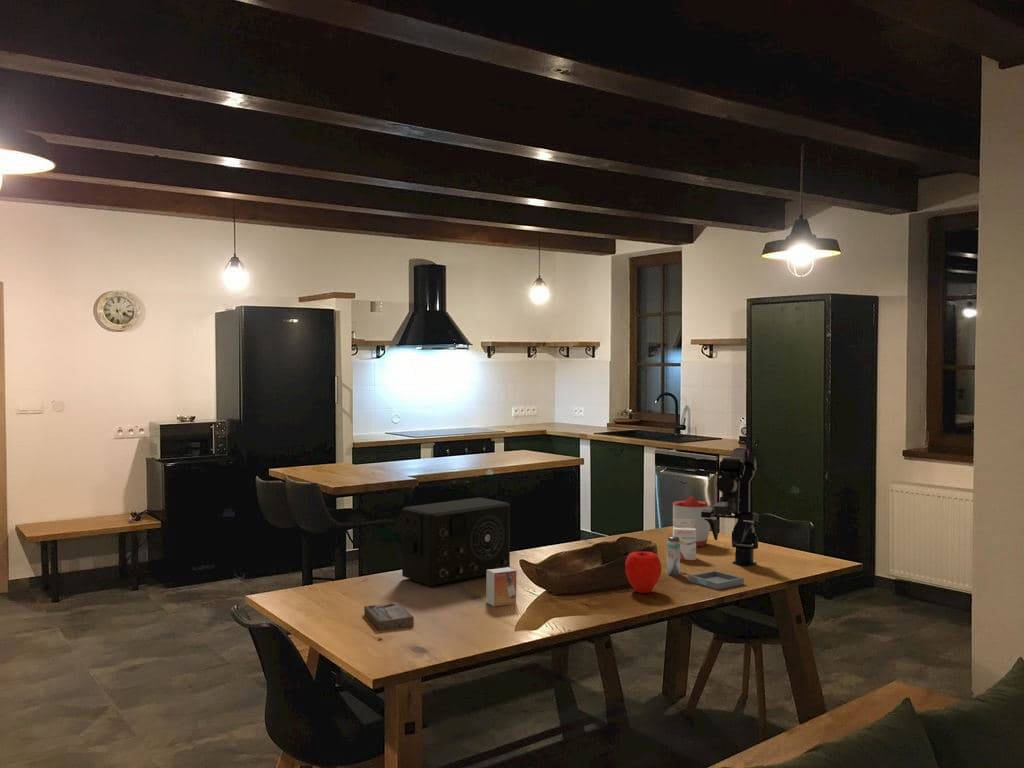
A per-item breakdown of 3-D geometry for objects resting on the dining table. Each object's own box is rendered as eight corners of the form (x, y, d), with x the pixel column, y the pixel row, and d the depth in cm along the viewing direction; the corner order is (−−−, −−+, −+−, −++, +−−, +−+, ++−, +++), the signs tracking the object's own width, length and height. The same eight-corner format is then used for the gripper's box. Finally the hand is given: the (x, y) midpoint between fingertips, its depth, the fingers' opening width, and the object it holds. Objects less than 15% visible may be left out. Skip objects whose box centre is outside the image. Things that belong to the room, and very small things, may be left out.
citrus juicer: (719, 548, 350) (719, 498, 349) (676, 548, 349) (676, 498, 349) (709, 540, 365) (710, 492, 365) (668, 540, 365) (668, 493, 364)
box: (378, 632, 242) (378, 621, 242) (363, 615, 258) (363, 605, 258) (415, 627, 246) (414, 616, 246) (398, 611, 262) (398, 601, 262)
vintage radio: (429, 591, 283) (429, 515, 283) (396, 580, 298) (396, 508, 297) (516, 573, 308) (516, 503, 307) (481, 563, 323) (481, 496, 322)
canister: (673, 571, 311) (673, 535, 310) (683, 574, 307) (683, 537, 306) (663, 573, 308) (664, 537, 308) (673, 576, 304) (673, 539, 304)
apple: (653, 585, 291) (653, 546, 291) (667, 595, 280) (667, 553, 279) (619, 588, 288) (620, 548, 288) (633, 597, 277) (633, 555, 277)
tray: (714, 576, 304) (714, 570, 304) (743, 584, 293) (743, 577, 293) (687, 581, 297) (688, 575, 297) (717, 590, 286) (717, 583, 286)
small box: (493, 607, 266) (493, 573, 265) (485, 602, 271) (485, 569, 270) (516, 603, 269) (516, 570, 269) (508, 599, 274) (508, 566, 274)
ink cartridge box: (673, 559, 330) (673, 521, 329) (672, 556, 334) (672, 518, 334) (696, 560, 329) (696, 521, 328) (694, 557, 334) (695, 519, 333)
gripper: (694, 491, 295) (692, 538, 293) (746, 494, 283) (744, 542, 281) (709, 494, 303) (707, 539, 301) (760, 496, 292) (758, 543, 289)
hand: (728, 541), depth 293 cm, fingers open, 9 cm apart
